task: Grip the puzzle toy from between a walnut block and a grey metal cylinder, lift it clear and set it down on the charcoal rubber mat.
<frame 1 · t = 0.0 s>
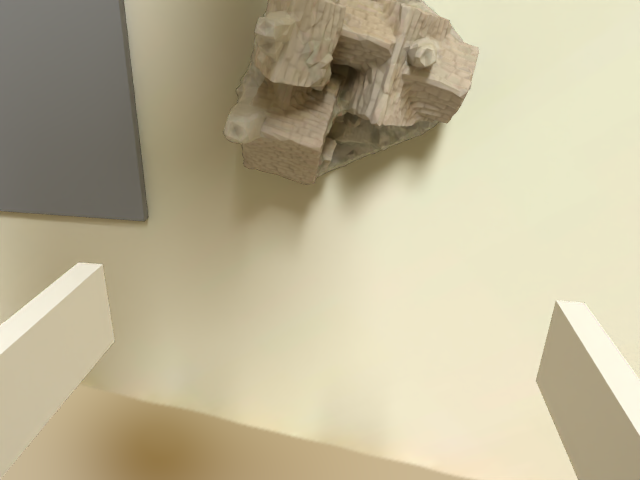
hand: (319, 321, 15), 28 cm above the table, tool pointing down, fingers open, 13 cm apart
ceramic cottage: (344, 88, 40), on the table
charcoal mat: (42, 99, 42), on the table
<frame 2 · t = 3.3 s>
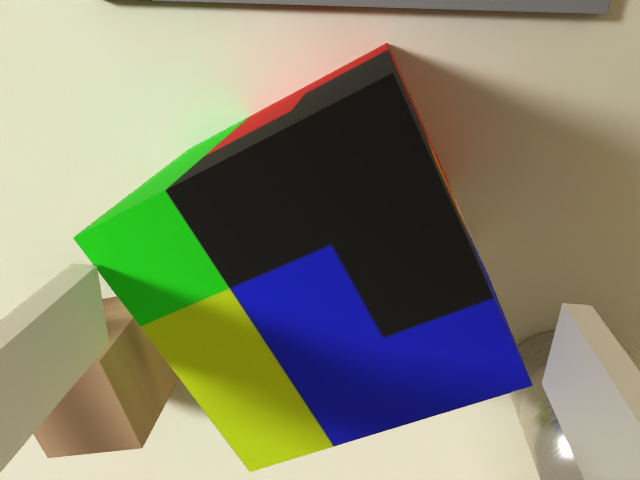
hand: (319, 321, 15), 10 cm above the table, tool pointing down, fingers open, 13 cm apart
grey metal cylinder: (554, 370, 27), on the table
puzzle toy: (334, 194, 24), on the table, touching gripper
walnut block: (129, 335, 28), on the table
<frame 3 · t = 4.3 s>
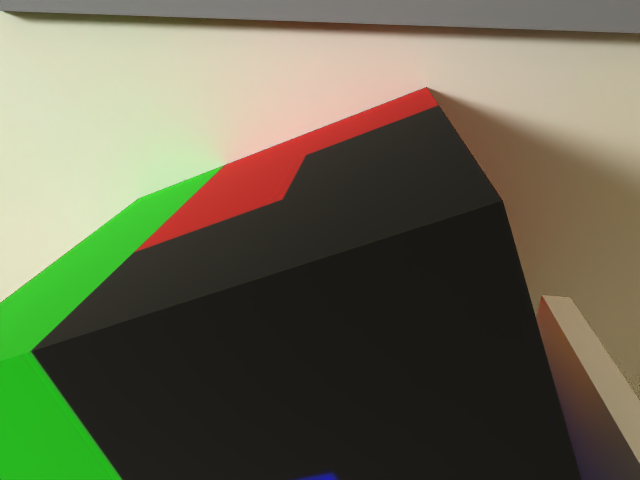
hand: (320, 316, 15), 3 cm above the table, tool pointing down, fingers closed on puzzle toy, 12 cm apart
puzzle toy: (330, 277, 18), on the table, touching gripper
when the fingers open (4 cm above the table, at t = 11.4 s): puzzle toy stays where it is, resting on charcoal mat.
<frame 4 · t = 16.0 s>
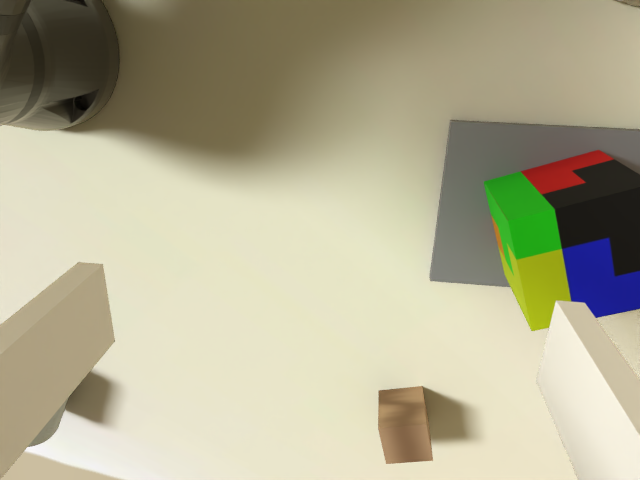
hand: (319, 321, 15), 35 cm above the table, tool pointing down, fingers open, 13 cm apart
charcoal mat: (546, 210, 48), on the table
puzzle toy: (548, 215, 48), point 1 cm above the table, touching charcoal mat
walnut block: (403, 405, 59), on the table
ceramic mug: (41, 374, 64), on the table
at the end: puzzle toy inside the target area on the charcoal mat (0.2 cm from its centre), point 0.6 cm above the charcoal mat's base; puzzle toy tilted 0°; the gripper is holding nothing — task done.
